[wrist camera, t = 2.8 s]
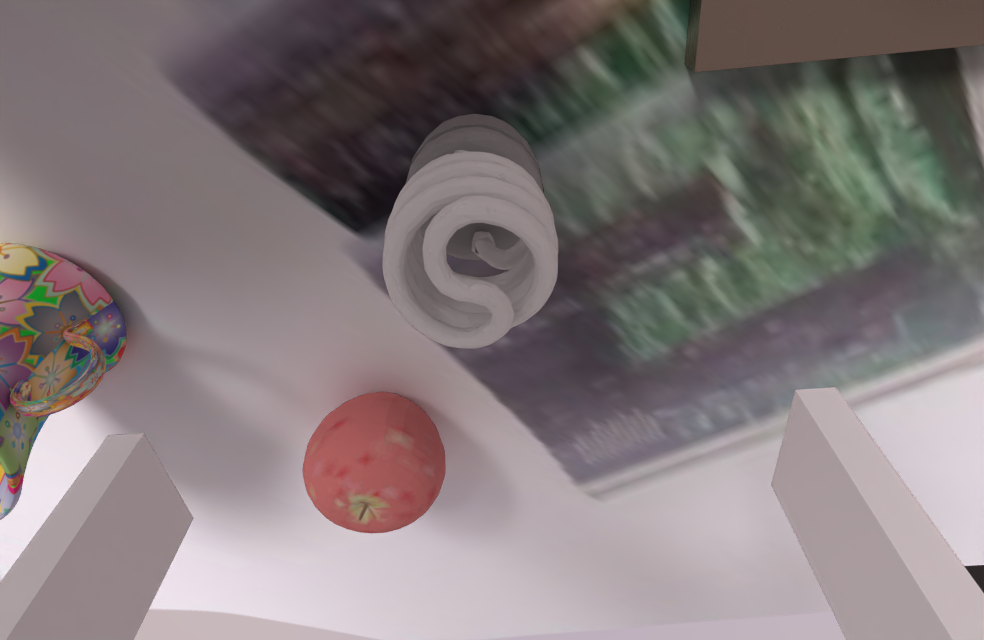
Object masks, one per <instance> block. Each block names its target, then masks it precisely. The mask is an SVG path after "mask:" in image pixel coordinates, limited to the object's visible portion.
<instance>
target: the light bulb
mask: <svg viewBox="0 0 984 640" xmlns="http://www.w3.org/2000/svg"><path fill="white" fill-rule="evenodd" d="M543 192H544V189H543V184H542V179H541V174H540V169H539V164H538V162H537V160H536V158H535V156H534V154H533V152H532V150H531V148H530V146H529V144H528V142H527V141H526V140H525V139H524V138H523V137H522V136H521V135H520V134H519V133H518V132H517V131H516V130H515V129H514V128H513V127H512V126H511V125H509V124H508V123H506V122H505V121H502V120H500V119H497V118H495V117H493V116H488V115H481V114H470V115H462V116H457V117H454V118H452V119H449V120H447V121H444V122H442V123H441V124H440V125H439V126H438V127H437V128H436V129H434V130H433V131H432V132H431V133H430V134H429V135H428V136H427V137H426V138H425V140H424V141H423V143H422V144H421V146H420V147H419V149H418V150H417V152H416V153H415V155H414V156H413V158H412V162H411V165H410V169H409V173H408V176H407V180H406V183H405V186H404V187H403V189H402V190H401V191H400V193H399V195H398V197H397V199H396V202H395V204H394V207H393V210H392V212H391V215H390V217H389V219H388V223H387V227H386V230H385V242H384V250H383V276H384V279H385V283H386V287H387V290H388V293H389V295H390V298H391V300H392V302H393V303H394V305H395V306H396V308H397V309H398V311H399V312H400V314H401V315H402V316H403V318H404V319H405V320H406V321H407V322H408V323H409V324H411V325H412V326H413V327H414V328H415V329H416V330H417V331H419V332H420V333H422V334H423V335H425V336H426V337H428V338H429V339H431V340H433V341H436V342H438V343H440V344H443V345H445V346H448V347H456V348H481V347H484V346H487V345H491V344H493V343H494V342H496V341H497V340H498V339H500V338H501V337H502V336H504V335H505V334H507V332H508V331H509V329H510V328H512V327H515V326H517V325H519V324H521V323H523V322H525V321H526V320H528V319H529V318H530V317H532V316H533V315H534V314H536V313H537V312H538V311H539V310H540V309H541V308H542V306H543V305H544V304H545V303H546V301H547V300H548V298H549V296H550V295H551V293H552V291H553V288H554V286H555V283H556V280H557V274H558V257H557V256H558V237H557V233H556V230H555V225H554V217H553V214H552V211H551V208H550V205H549V203H548V202H547V200H546V198H545V196H544V195H543ZM422 237H423V238H422ZM423 239H424V241H423ZM446 254H447V255H450V256H453V257H456V258H459V259H470V260H485V261H486V262H487V263H488V264H489V265H490V266H492V267H494V268H498V269H501V270H509V271H506V272H504V273H501V274H498V275H494V276H488V277H474V276H468V275H463V274H460V273H457V272H455V271H452V270H451V268H450V266H449V265H448V263H447V256H446Z"/></svg>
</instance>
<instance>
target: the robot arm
mask: <svg viewBox="0 0 984 640" xmlns="http://www.w3.org/2000/svg"><path fill="white" fill-rule="evenodd" d="M771 485H772V487H773V489H774V491H775V493H776V496H777V498H778V500H779V502H780V504H781V506H782V508H783V510H784V512H785V514H786V516H787V518H788V520H789V522H790V524H791V527H792V529H793V531H794V533H795V535H796V537H797V539H798V541H799V543H800V545H801V547H802V549H803V551H804V553H805V556H806V558H807V560H808V562H809V564H810V566H811V568H812V570H813V572H814V574H815V576H816V578H817V580H818V582H819V584H820V587H821V589H822V591H823V593H824V595H825V597H826V599H827V601H828V603H829V605H830V607H831V609H832V611H833V613H834V615H835V618H836V620H837V622H838V624H839V626H840V628H841V630H842V632H843V634H844V636H845V638H846V640H984V565H978V566H964V565H963V564H962V562H961V561H960V560H959V558H958V557H957V555H956V554H955V553H954V551H953V550H952V548H951V547H950V546H949V544H948V543H947V541H946V540H945V539H944V537H943V536H942V534H941V533H940V532H939V530H938V529H937V528H936V526H935V525H934V523H933V522H932V521H931V519H930V518H929V516H928V515H927V514H926V512H925V511H924V509H923V508H922V507H921V505H920V504H919V502H918V501H917V500H916V498H915V497H914V495H913V494H912V493H911V491H910V490H909V488H908V487H907V486H906V484H905V483H904V482H903V480H902V479H901V477H900V476H899V475H898V473H897V472H896V470H895V469H894V468H893V466H892V465H891V463H890V462H889V461H888V459H887V458H886V456H885V455H884V454H883V452H882V451H881V449H880V448H879V447H878V445H877V444H876V442H875V441H874V440H873V438H872V437H871V436H870V434H869V433H868V431H867V430H866V429H865V427H864V426H863V424H862V423H861V422H860V420H859V419H858V417H857V416H856V415H855V413H854V412H853V410H852V409H851V408H850V406H849V405H848V403H847V402H846V401H845V399H844V398H843V396H842V395H841V394H840V392H839V391H838V390H837V388H836V387H833V388H818V389H802V390H795V394H794V398H793V402H792V406H791V409H790V413H789V417H788V421H787V425H786V429H785V433H784V437H783V441H782V445H781V449H780V452H779V456H778V460H777V464H776V468H775V472H774V476H773V480H772V484H771ZM192 520H193V516H192V515H191V513H190V511H189V510H188V508H187V506H186V504H185V503H184V501H183V499H182V498H181V496H180V494H179V492H178V491H177V489H176V487H175V485H174V484H173V482H172V480H171V479H170V477H169V475H168V473H167V472H166V470H165V468H164V467H163V465H162V463H161V461H160V460H159V458H158V456H157V454H156V453H155V451H154V449H153V448H152V446H151V444H150V442H149V441H148V439H147V437H146V436H145V434H144V433H136V434H121V435H108V436H107V438H106V439H105V440H104V442H103V443H102V444H101V446H100V447H99V449H98V450H97V451H96V453H95V454H94V455H93V457H92V458H91V460H90V461H89V462H88V464H87V465H86V466H85V468H84V469H83V470H82V472H81V473H80V475H79V476H78V477H77V479H76V480H75V481H74V483H73V484H72V485H71V487H70V488H69V490H68V491H67V492H66V494H65V495H64V496H63V498H62V499H61V500H60V502H59V503H58V505H57V506H56V507H55V509H54V510H53V511H52V513H51V514H50V515H49V517H48V518H47V520H46V521H45V522H44V524H43V525H42V526H41V528H40V529H39V530H38V532H37V533H36V535H35V536H34V537H33V539H32V540H31V541H30V543H29V544H28V545H27V547H26V548H25V550H24V551H23V552H22V554H21V555H20V556H19V558H18V559H17V560H16V562H15V563H14V565H13V566H12V567H11V569H10V570H9V571H8V573H7V574H6V575H5V577H4V578H3V580H2V581H1V582H0V640H134V638H135V636H136V634H137V632H138V630H139V628H140V626H141V624H142V622H143V620H144V618H145V615H146V613H147V611H148V609H149V607H150V605H151V603H152V601H153V599H154V597H155V595H156V593H157V591H158V589H159V587H160V585H161V583H162V581H163V579H164V577H165V575H166V573H167V571H168V569H169V567H170V565H171V563H172V561H173V559H174V557H175V555H176V553H177V551H178V549H179V547H180V545H181V543H182V541H183V538H184V536H185V534H186V532H187V530H188V528H189V526H190V524H191V522H192Z"/></svg>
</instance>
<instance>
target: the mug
mask: <svg viewBox="0 0 984 640" xmlns="http://www.w3.org/2000/svg"><path fill="white" fill-rule="evenodd" d="M126 339H127V338H126V327H125V323H124V320H123V317H122V315H121V312H120V310H119V308H118V306H117V305H116V303H115V301H114V300H113V298H112V297H111V296H110V295H109V293H108V292H107V291H106V290H105V289H104V288H103V286H102V285H101V284H100V283H98V282H97V281H96V280H95V279H94V278H93V277H92V276H91V275H89V274H88V273H87V272H85V271H84V270H83V269H81V268H80V267H78V266H76V265H75V264H73V263H71V262H70V261H68V260H66V259H64V258H62V257H60V256H58V255H55V254H53V253H51V252H48V251H45V250H42V249H39V248H35V247H31V246H26V245H20V244H11V243H0V520H1V519H2V518H4V517H5V516H6V515H8V514H9V513H10V512H11V510H12V509H13V508H14V507H15V505H16V504H17V502H18V500H19V497H20V494H21V490H22V484H23V478H24V473H25V469H26V465H27V461H28V458H29V455H30V452H31V449H32V447H33V444H34V442H35V440H36V438H37V436H38V433H39V432H40V430H41V428H42V426H43V424H44V423H45V421H46V420H47V418H48V416H49V415H50V414H53V413H56V412H59V411H61V410H64V409H66V408H68V407H70V406H72V405H74V404H75V403H77V402H79V401H80V400H82V399H83V398H85V397H86V396H87V395H88V394H90V393H91V392H92V391H93V390H94V389H95V388H96V386H97V385H98V384H99V383H100V381H101V379H102V378H103V375H104V373H106V372H107V371H109V370H110V369H112V368H113V367H114V366H115V365H116V364H117V363H118V362H119V360H120V358H121V357H122V355H123V352H124V349H125V346H126Z"/></svg>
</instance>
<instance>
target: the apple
mask: <svg viewBox="0 0 984 640" xmlns="http://www.w3.org/2000/svg"><path fill="white" fill-rule="evenodd" d="M444 476H445V451H444V447H443V444H442V441H441V439H440V436H439V433H438V430H437V428H436V426H435V424H434V423H433V422H432V420H431V419H430V418H429V416H428V415H427V414H426V413H425V412H424V411H423V410H422V409H421V408H420V407H419V406H417V405H416V404H415V403H413V402H412V401H410V400H408V399H407V398H404V397H402V396H399V395H397V394H393V393H387V392H374V393H368V394H364V395H360V396H358V397H356V398H354V399H351V400H349V401H347V402H345V403H343V404H342V405H341V406H339V407H338V408H336V409H335V410H334V411H332V412H331V413H329V414H328V415H327V416H326V417H325V418H324V419H323V421H322V422H321V424H320V425H319V426H318V428H317V429H316V431H315V432H314V434H313V435H312V437H311V439H310V441H309V443H308V446H307V450H306V454H305V459H304V464H303V477H304V482H305V486H306V490H307V493H308V495H309V497H310V498H311V500H312V502H313V504H314V505H315V507H316V508H317V509H318V510H319V511H320V512H321V513H322V514H323V515H324V516H325V517H326V518H327V519H329V520H330V521H332V522H333V523H335V524H337V525H339V526H341V527H344V528H346V529H349V530H353V531H357V532H363V533H384V532H389V531H393V530H397V529H400V528H402V527H404V526H407V525H409V524H411V523H413V522H414V521H416V520H417V519H418V518H419V517H421V516H422V515H423V514H424V513H425V512H426V511H427V510H428V509H429V508H430V506H431V505H432V503H433V502H434V500H435V499H436V497H437V496H438V494H439V492H440V489H441V486H442V483H443V480H444Z"/></svg>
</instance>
